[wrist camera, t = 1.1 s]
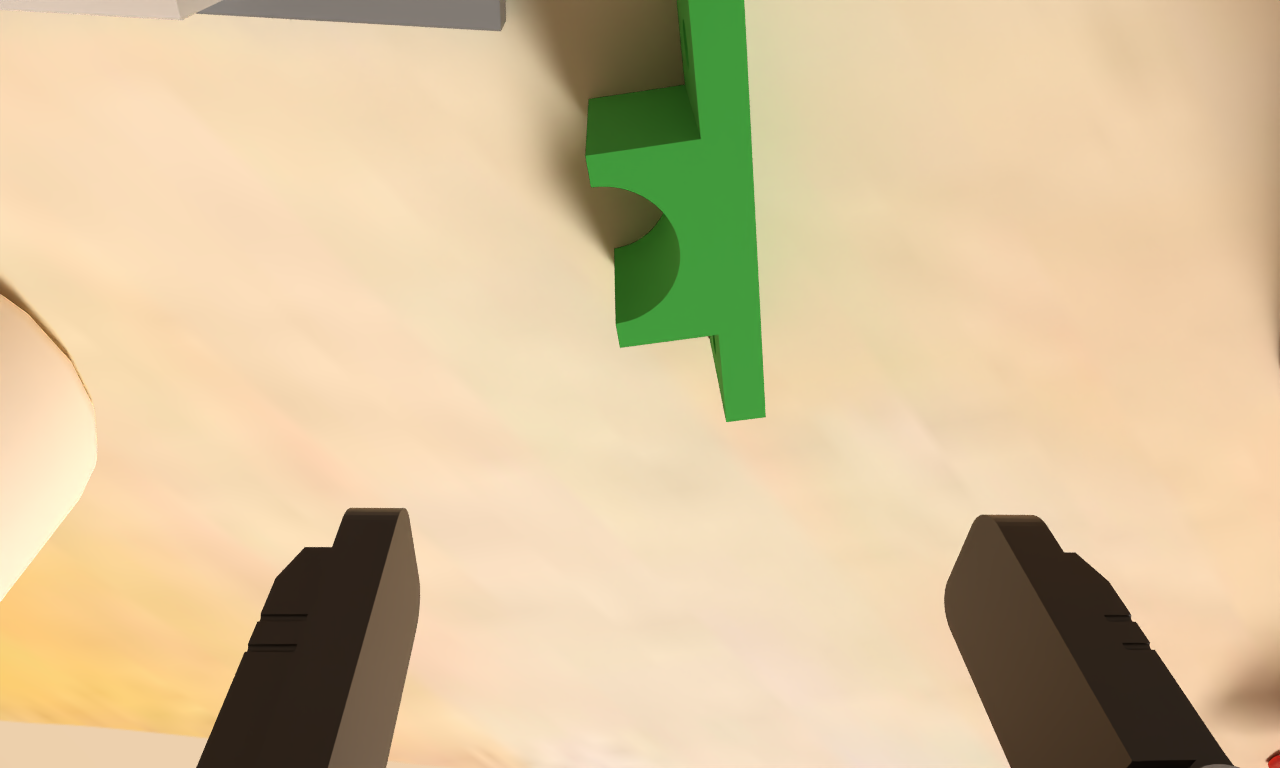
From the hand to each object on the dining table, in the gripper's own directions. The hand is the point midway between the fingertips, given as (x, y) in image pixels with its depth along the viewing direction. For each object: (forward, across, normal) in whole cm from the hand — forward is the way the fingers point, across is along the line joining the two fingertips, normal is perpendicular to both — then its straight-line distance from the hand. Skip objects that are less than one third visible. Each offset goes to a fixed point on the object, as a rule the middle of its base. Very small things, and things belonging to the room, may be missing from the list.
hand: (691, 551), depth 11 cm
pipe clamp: (+14, -1, 0) cm, 14 cm away
